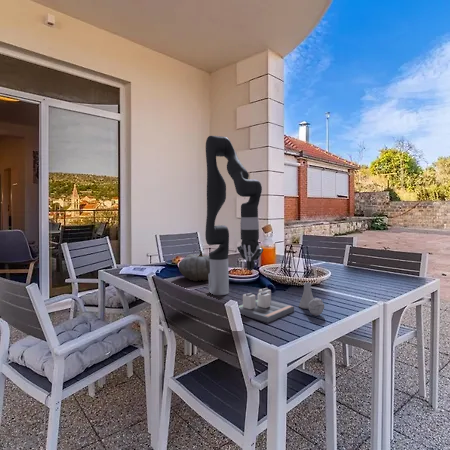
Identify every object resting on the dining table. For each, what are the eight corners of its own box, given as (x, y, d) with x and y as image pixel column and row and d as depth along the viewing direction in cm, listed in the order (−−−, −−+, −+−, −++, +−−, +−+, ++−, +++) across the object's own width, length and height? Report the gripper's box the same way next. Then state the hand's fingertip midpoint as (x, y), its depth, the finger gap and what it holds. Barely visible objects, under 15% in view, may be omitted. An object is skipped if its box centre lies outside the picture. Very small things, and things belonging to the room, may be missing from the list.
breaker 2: (258, 301, 136) (258, 288, 136) (263, 299, 138) (263, 287, 138) (266, 303, 133) (266, 290, 133) (271, 301, 135) (270, 288, 135)
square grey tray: (234, 312, 130) (234, 307, 130) (261, 302, 142) (261, 298, 142) (267, 322, 118) (267, 317, 118) (294, 311, 130) (294, 306, 130)
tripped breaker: (257, 306, 130) (257, 292, 130) (262, 304, 132) (262, 290, 132) (265, 308, 127) (265, 294, 127) (270, 306, 129) (270, 292, 129)
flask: (319, 306, 135) (319, 283, 135) (311, 311, 130) (311, 286, 129) (303, 303, 140) (303, 280, 139) (295, 307, 135) (295, 283, 134)
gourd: (186, 282, 171) (186, 249, 174) (171, 280, 193) (172, 251, 196) (228, 281, 182) (227, 250, 185) (209, 279, 204) (209, 252, 207)
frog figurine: (312, 319, 120) (312, 301, 120) (304, 313, 127) (304, 295, 127) (327, 318, 122) (327, 299, 121) (319, 312, 128) (319, 294, 128)
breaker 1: (242, 307, 129) (242, 293, 129) (248, 305, 131) (247, 291, 131) (250, 309, 126) (250, 295, 126) (255, 307, 128) (255, 293, 128)
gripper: (231, 228, 135) (232, 269, 136) (256, 229, 125) (256, 273, 126) (243, 227, 140) (244, 266, 141) (268, 228, 131) (268, 270, 132)
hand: (250, 269), depth 134 cm, fingers closed
